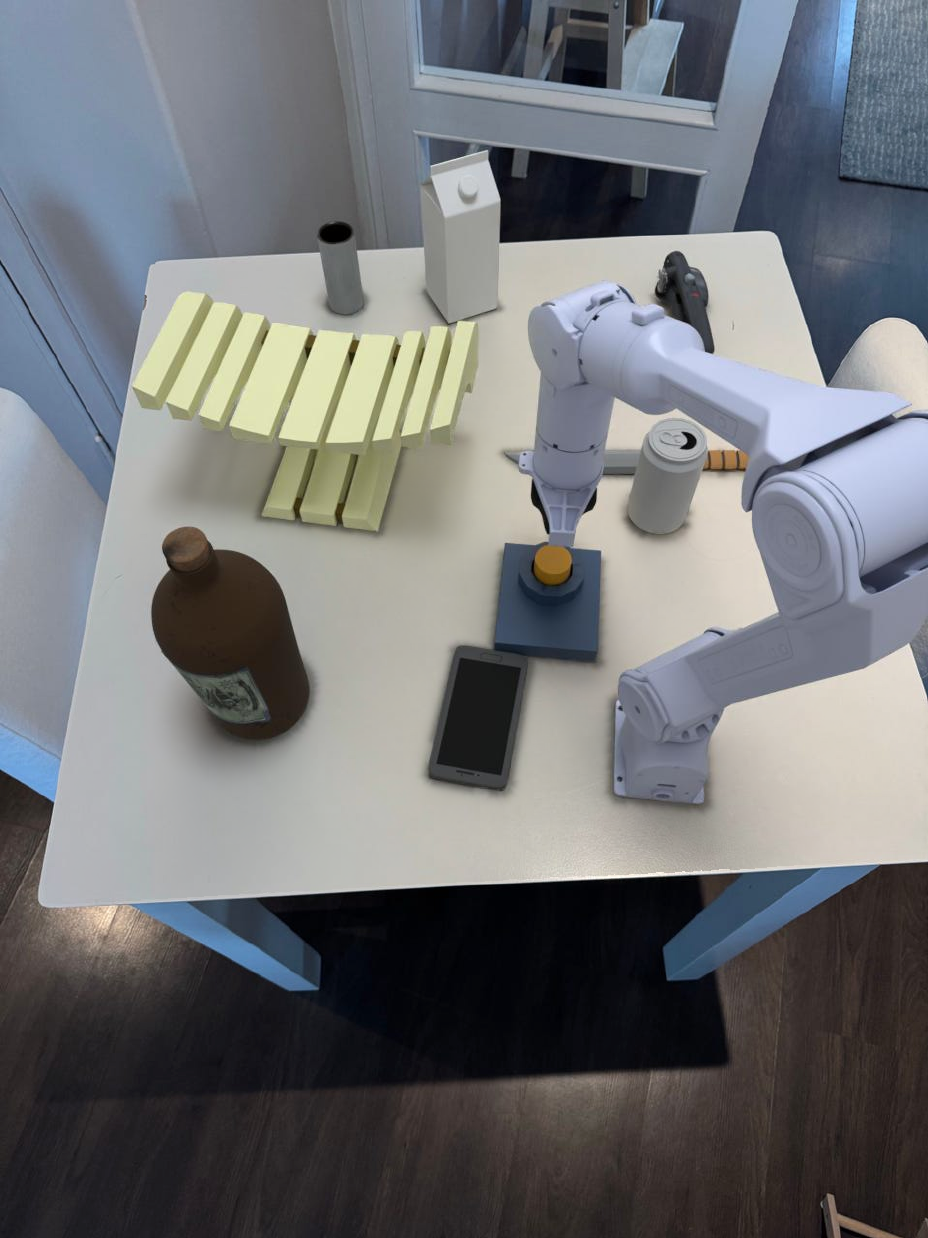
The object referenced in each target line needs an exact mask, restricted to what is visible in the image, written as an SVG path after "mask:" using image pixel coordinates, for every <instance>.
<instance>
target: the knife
mask: <svg viewBox="0 0 928 1238" xmlns="http://www.w3.org/2000/svg"><path fill="white" fill-rule="evenodd" d="M640 452H641V449H605V451H604V456H603V463H604V468H603V474H602V475H618V474H619V475H623V474H624V475H629V474H630V475H631V474H633V475H635V472H636V468H637V464H638V460H639V456H640ZM520 453H521V452H504V455H505V456H507V457H508V458H509V459H510V460H511V461H514V462H515V463H516V464H518V465H519V458H520ZM748 461H749V458H748V456H747V455H746V454H745V453H744V452H742V451H741V450H739V449H737V450H734V449H730V450H729V449H723V450H722V451H721V450H720V449H712V450H711V449H708V455H707V458H706V461H705V464H704V467H703V470H708V469H710V470H722V469H723V470H733V469H746V468H747V464H748Z"/></svg>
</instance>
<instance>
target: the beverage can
mask: <svg viewBox="0 0 928 1238" xmlns="http://www.w3.org/2000/svg"><path fill="white" fill-rule="evenodd" d="M642 440H643V441H642V443H641V447H640V450H641V452H640V456H639V460H638V464H637V468H636V472H635V474H634V477H633V481H632V485H631V490H630V494H629V497H628V501H627V514H628V517H629V518H630V520H631V522H632V523H633V524H634V525H635V526H637V527H638V528H639V529H641V530H642V531H645V532H648V533H651V534H655V535H657V534H658V535H661V534H662V535H663V534H664V535H665V534H670V533H672V532H675V531H676V530H678V529H679V528H680V527H681V526H682V525H683V524H684V523H685V521H686V519H687V516H688V514H689V510H690V507H691V504H692V501H693V498H694V495H695V493H696V490H697V487H698V484H699V481H700V478H701V475H702V472H703V470H704V469H703V467H704V464H705V461H706V458H707V455H708V450H709V448H708V438H707V435H706V433H705V431H704V430H703V428H701V427H700V426H699V425H698V424H696V422H693V421H691V420H689V419H686V418H682V417H667V418H663V419H660V420H658V421H657V422H656V423H653V425H652V426H651V428H650V429H649V431H648V432H647V433H646V434H645V436H644V438H643V439H642Z"/></svg>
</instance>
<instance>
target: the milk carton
mask: <svg viewBox="0 0 928 1238" xmlns="http://www.w3.org/2000/svg"><path fill="white" fill-rule="evenodd" d="M429 167H430V168H429V170H430V171H429V173H430V175H429V176H428V177H427V178H426V179H425V180H423V181H422V182H420V184H419V188H420V189H419V190H420V203H421V204H420V205H421V221H422V222H421V223H422V239H423V240H422V241H423V254H424V255H423V256H424V270H425V271H424V272H425V290H426V293H427V295H428V296H429V297H430V299H431V300H432V301H433V303H434V304H435V306H436V308H437V309H438V311H439V312H440V313H441V315H442V316H443V318H444V319H445V320H446V322H447V323H448V324H452V323H455V322H458V321H463V320H465V319H468V318H471V317H474V316H477V315H480V314H483V313H487V312H490V311H492V310H495V309H497V308H498V306H499V276H500V275H499V269H500V238H501V236H500V231H501V197H500V193H499V190H498V187H497V183H496V181H495V178H494V174H493V171H492V168H491V163H490V161H489V150H488V149H486V150H482V151H478V152H475V153H471V154H468V155H465V156H461V157H457V158H453V159H450V160H446V161H442V162H439V163H436V164H432V165H430V166H429Z"/></svg>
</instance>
